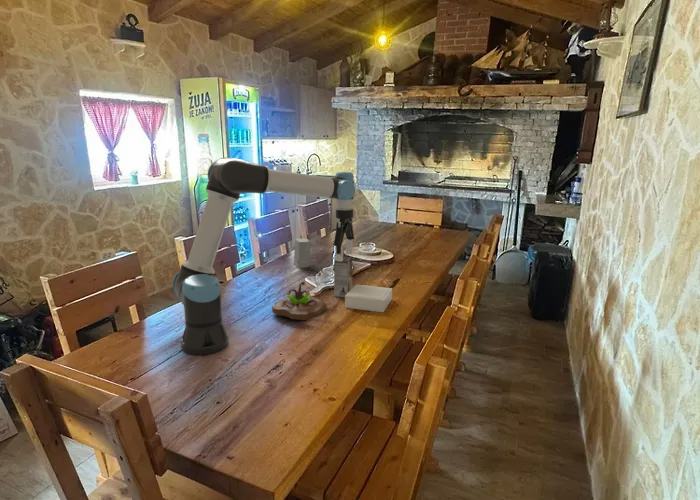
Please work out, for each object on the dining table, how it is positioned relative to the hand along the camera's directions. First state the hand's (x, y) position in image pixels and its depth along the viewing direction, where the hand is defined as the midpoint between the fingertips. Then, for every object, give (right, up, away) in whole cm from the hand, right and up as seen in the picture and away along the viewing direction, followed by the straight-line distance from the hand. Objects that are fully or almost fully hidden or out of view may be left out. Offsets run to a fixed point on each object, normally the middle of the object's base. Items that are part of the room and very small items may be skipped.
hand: (344, 257), depth 184 cm
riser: (+10, -19, -8) cm, 23 cm away
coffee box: (0, -16, +4) cm, 17 cm away
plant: (-17, -21, -15) cm, 31 cm away
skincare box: (-23, -7, +43) cm, 50 cm away
